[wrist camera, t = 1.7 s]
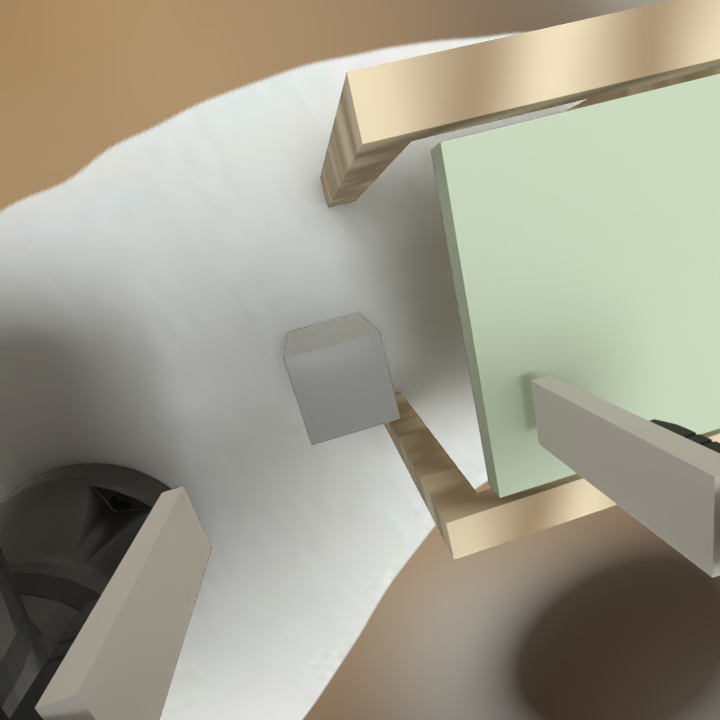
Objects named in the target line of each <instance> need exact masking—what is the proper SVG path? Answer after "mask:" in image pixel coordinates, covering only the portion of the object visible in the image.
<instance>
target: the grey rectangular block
mask: <svg viewBox="0 0 720 720" xmlns="http://www.w3.org/2000/svg"><path fill="white" fill-rule="evenodd" d="M284 361H285V364H286V367H287V370H288V373H289V376H290V379H291V382H292V386H293V389H294V392H295V395H296V398H297V401H298V404H299V407H300V410H301V414H302V417H303V420H304V423H305V426H306V429H307V432H308V435H309V438H310V442H311V445H314V444H317V443H321V442H324V441H327V440H331V439H334V438H337V437H341V436H344V435H347V434H351V433H354V432H357V431H360V430H364V429H367V428H370V427H374V426H377V425H380V424H384V423H387V422H390V421H394V420H397V419H400V415H399V411H398V407H397V403H396V398H395V394H394V390H393V386H392V382H391V378H390V373H389V369H388V365H387V361H386V357H385V352H384V348H383V344H382V340H381V336H380V332H379V331H378V330H377V329H376V328H375V327H374V326H373V325H372V324H370V323H369V322H368V321H367V320H366V319H365V318H364V317H363V316H362V315H360V314H359V313H355V314H351V315H348V316H344V317H341V318H337V319H333V320H330V321H326V322H322V323H319V324H315V325H312V326H308V327H304V328H301V329H297V330H293V331H290V332H288V335H287V341H286V348H285V354H284Z"/></svg>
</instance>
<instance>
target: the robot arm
mask: <svg viewBox="0 0 720 720" xmlns="http://www.w3.org/2000/svg"><path fill="white" fill-rule="evenodd" d="M531 386H532V394H533V402H534V410H535V418H536V425H537V433H538V441H539V444H540V445H541V446H542V447H543V448H545V449H546V450H547V451H549V452H550V453H551V454H552V455H554V456H555V457H556V458H558V459H559V460H560V461H562V462H563V463H564V464H565V465H567V466H568V467H569V468H571V469H572V470H573V471H575V472H576V473H577V474H578V475H580V476H581V477H582V478H584V479H585V480H586V481H588V482H589V483H590V484H591V485H593V486H594V487H595V488H597V489H598V490H599V491H601V492H602V493H603V494H604V495H606V496H607V497H608V498H610V499H611V500H612V501H613V502H615V503H616V504H617V505H619V506H620V507H621V508H623V509H624V510H625V511H626V512H628V513H629V514H630V515H632V516H633V517H634V518H636V519H637V520H638V521H639V522H641V523H642V524H643V525H645V526H646V527H647V528H649V529H650V530H651V531H652V532H654V533H655V534H657V535H658V536H659V537H660V538H662V539H663V540H664V541H665V542H667V543H668V544H669V545H671V546H672V547H673V548H674V549H676V550H677V551H678V552H680V553H681V554H682V555H684V556H685V557H686V558H687V559H689V560H690V561H691V562H693V563H694V564H695V565H697V566H698V567H699V568H700V569H702V570H703V571H704V572H706V573H707V574H708V575H710V576H711V577H712V578H713V577H716V576H718V575H720V443H719V442H716V441H715V442H713V441H712V439H709V438H707V437H705V436H703V435H700V434H698V435H697V434H696V432H693V431H691V430H689V429H687V428H684V427H682V426H680V425H677V424H674V423H669V422H665V421H660V420H656V419H653V420H650V421H648V420H646V419H644V418H642V417H639V416H637V415H635V414H633V413H631V412H629V411H626V410H624V409H622V408H620V407H618V406H616V405H613V404H611V403H609V402H607V401H605V400H603V399H600V398H598V397H596V396H594V395H592V394H590V393H587V392H585V391H583V390H581V389H579V388H577V387H574V386H572V385H570V384H568V383H566V382H564V381H561V380H559V379H557V378H555V377H553V376H551V375H548V376H544V377H541V378H538V379H535V380H531ZM211 549H212V547H211V545H210V543H209V541H208V538H207V536H206V534H205V532H204V529H203V527H202V525H201V523H200V521H199V518H198V516H197V514H196V512H195V509H194V507H193V505H192V503H191V501H190V498H189V496H188V494H187V492H186V489H185V487H184V486H182V487H179V488H175V489H172V490H170V489H168V488H167V487H166V486H164V485H163V484H161V483H160V482H158V481H156V480H155V479H153V478H151V477H149V476H147V475H145V474H142V473H139V472H137V471H134V470H131V469H127V468H123V467H118V466H113V465H105V464H80V465H71V466H66V467H62V468H58V469H54V470H51V471H48V472H46V473H43V474H41V475H39V476H37V477H34V478H33V479H31V480H29V481H28V482H26V483H25V484H23V485H22V486H20V487H19V488H18V489H17V490H15V491H14V492H13V493H12V494H10V495H9V496H8V497H7V498H6V499H4V500H3V501H2V502H1V503H0V720H160V717H161V714H162V710H163V707H164V704H165V701H166V697H167V694H168V691H169V687H170V684H171V681H172V678H173V674H174V671H175V668H176V664H177V661H178V658H179V654H180V651H181V648H182V645H183V641H184V638H185V635H186V631H187V628H188V625H189V622H190V618H191V615H192V612H193V608H194V605H195V602H196V599H197V595H198V592H199V589H200V585H201V582H202V579H203V576H204V572H205V569H206V566H207V562H208V559H209V556H210V553H211Z"/></svg>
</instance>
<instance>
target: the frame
mask: <svg viewBox="0 0 720 720" xmlns="http://www.w3.org/2000/svg"><path fill="white" fill-rule="evenodd" d="M716 74H720V0H671V1H666V2H662V3H657V4H652V5H648V6H644V7H639V8H635V9H630V10H626V11H621V12H616V13H612V14H607V15H603V16H599V17H594V18H589V19H585V20H581V21H576V22H571V23H567V24H562V25H558V26H553V27H549V28H545V29H540V30H535V31H531V32H526V33H522V34H517V35H513V36H508V37H504V38H499V39H495V40H490V41H486V42H481V43H477V44H472V45H468V46H463V47H459V48H454V49H450V50H445V51H441V52H436V53H432V54H427V55H423V56H418V57H414V58H409V59H405V60H400V61H396V62H392V63H387V64H383V65H378V66H374V67H369V68H365V69H360V70H356V71H351V72H347V73H346V77H345V81H344V85H343V89H342V93H341V97H340V101H339V105H338V109H337V113H336V117H335V121H334V125H333V129H332V133H331V137H330V141H329V145H328V149H327V153H326V156H325V160H324V164H323V168H322V172H321V176H320V177H321V181H322V185H323V189H324V193H325V197H326V201H327V205H328V207H331V206H335V205H339V204H343V203H347V202H351V201H355V200H356V199H357V198H358V197H359V196H360V195H361V194H362V193H363V192H364V191H365V190H366V189H367V188H368V186H369V185H370V184H371V183H372V182H373V181H374V180H375V179H376V178H377V177H378V176H379V175H380V174H381V173H382V172H383V171H384V170H385V168H386V167H387V166H388V165H389V164H390V163H391V162H392V161H393V160H394V159H395V158H396V157H397V156H398V155H399V154H400V153H401V152H402V150H403V149H404V148H405V147H406V146H407V145H408V144H409V143H410V142H411V141H414V140H418V139H422V138H426V137H430V136H434V135H439V134H443V133H447V132H451V131H455V130H459V129H464V128H468V127H472V126H476V125H480V124H484V123H488V122H493V121H497V120H501V119H505V118H509V117H513V116H518V115H522V114H526V113H530V112H534V111H538V110H542V109H547V108H551V107H555V106H559V105H563V104H567V103H571V102H576V101H580V100H584V99H587V100H585V101H583V102H582V103H580V104H578V105H576V106H574V107H573V108H571V109H569V110H567V111H570V110H574V109H578V108H582V107H586V106H590V105H594V104H598V103H602V102H606V101H610V100H614V99H619V98H623V97H627V96H631V95H635V94H639V93H643V92H647V91H651V90H655V89H659V88H663V87H667V86H671V85H676V84H680V83H684V82H688V81H692V80H696V79H700V78H704V77H708V76H712V75H716ZM588 98H589V99H588ZM565 112H566V111H565ZM395 398H396V403H397V407H398V411H399V415H400V419H397V420H394V421H390V422H387V423H384V425H385V427H386V428H387V430H388V432H389V434H390V436H391V438H392V440H393V442H394V444H395V446H396V448H397V450H398V452H399V454H400V456H401V458H402V459H403V461H404V463H405V465H406V467H407V469H408V471H409V473H410V475H411V477H412V479H413V481H414V483H415V485H416V487H417V489H418V490H419V492H420V494H421V496H422V498H423V500H424V502H425V504H426V506H427V508H428V510H429V512H430V514H431V516H432V518H433V520H434V522H435V523H436V525H437V527H438V529H439V531H440V533H441V535H442V537H443V539H444V541H445V543H446V545H447V547H448V549H449V550H450V553H451V554H452V556H453V558H454V559H457V558H460V557H463V556H466V555H469V554H472V553H475V552H478V551H481V550H484V549H487V548H490V547H493V546H496V545H499V544H501V543H504V542H508V541H510V540H514V539H517V538H520V537H522V536H525V535H528V534H531V533H534V532H537V531H540V530H543V529H546V528H549V527H552V526H555V525H558V524H561V523H564V522H567V521H570V520H573V519H576V518H579V517H582V516H585V515H588V514H591V513H594V512H597V511H600V510H602V509H605V508H608V507H611V506H614V505H617V504H616V503H615V502H613V501H612V500H611V499H610V498H608V497H607V496H606V495H604V494H603V493H602V492H601V491H599V490H598V489H597V488H595V487H594V486H593V485H591V484H590V483H589V482H588V481H586V480H585V479H584V478H582V477H581V476H580V475H578V474H574V475H571V476H568V477H565V478H561V479H558V480H555V481H552V482H549V483H546V484H543V485H539V486H536V487H533V488H530V489H527V490H524V491H520V492H517V493H514V494H511V495H508V496H505V497H502V498H499V496H498V495H497V494H496V493H495V491H494V490H493V489H492V488H491V489H488V490H485V491H482V492H479V493H477V492H476V491H475V490H474V488H473V487H472V486H471V484H470V483H469V482H468V480H467V479H466V478H465V476H464V475H463V474H462V473H461V471H460V470H459V469H458V467H457V466H456V465H455V463H454V462H453V461H452V459H451V458H450V457H449V455H448V454H447V453H446V452H445V450H444V449H443V448H442V446H441V445H440V444H439V442H438V441H437V440H436V438H435V437H434V436H433V434H432V433H431V432H430V431H429V429H428V428H427V427H426V425H425V424H424V423H423V421H422V420H421V419H420V417H419V416H418V415H417V413H416V412H415V411H414V410H413V408H412V407H411V406H410V404H409V403H408V402H407V400H406V399H405V398H404V396H403V395H402V394H401V392H400V393H397V394H395ZM700 435H703V436H705V437H707V438H709V439H712V441H713V442H715V441H716V442H719V443H720V428H719V429H716V430H713V431H710V432H707V433H703V434H700Z"/></svg>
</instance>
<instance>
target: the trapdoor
mask: <svg viewBox="0 0 720 720" xmlns="http://www.w3.org/2000/svg"><path fill="white" fill-rule="evenodd" d="M431 155H432V161H433V167H434V172H435V178H436V184H437V190H438V195H439V201H440V207H441V212H442V218H443V224H444V230H445V235H446V241H447V247H448V253H449V258H450V264H451V270H452V275H453V281H454V287H455V293H456V298H457V304H458V310H459V316H460V321H461V327H462V333H463V339H464V344H465V350H466V356H467V361H468V367H469V373H470V379H471V384H472V390H473V396H474V402H475V407H476V413H477V419H478V424H479V430H480V436H481V442H482V447H483V453H484V459H485V465H486V470H487V476H488V482H489V485H490V487H491V488H492V489H493V490H494V491H495V493H496V494H497V495H498V496H499V498H502V497H505V496H508V495H511V494H514V493H517V492H520V491H524V490H527V489H530V488H533V487H536V486H539V485H543V484H546V483H549V482H552V481H555V480H558V479H561V478H565V477H568V476H571V475H574V474H577V473H576V472H575V471H573V470H572V469H571V468H569V467H568V466H567V465H565V464H564V463H563V462H562V461H560V460H559V459H558V458H556V457H555V456H554V455H552V454H551V453H550V452H549V451H547V450H546V449H545V448H543V447H542V446H541V445H540V444H539V441H538V433H537V425H536V418H535V410H534V402H533V394H532V386H531V380H535V379H538V378H541V377H544V376H548V375H551V376H553V377H555V378H557V379H559V380H561V381H564V382H566V383H568V384H570V385H572V386H574V387H577V388H579V389H581V390H583V391H585V392H587V393H590V394H592V395H594V396H596V397H598V398H600V399H603V400H605V401H607V402H609V403H611V404H613V405H616V406H618V407H620V408H622V409H624V410H626V411H629V412H631V413H633V414H635V415H637V416H639V417H642V418H644V419H646V420H648V421H650V420H653V419H656V420H660V421H665V422H669V423H674V424H677V425H680V426H682V427H684V428H687V429H689V430H691V431H693V432H696V434H697V435H698V434H703V433H707V432H710V431H713V430H716V429H719V428H720V74H716V75H712V76H708V77H704V78H700V79H696V80H692V81H688V82H684V83H680V84H676V85H671V86H667V87H663V88H659V89H655V90H651V91H647V92H643V93H639V94H635V95H631V96H627V97H623V98H619V99H614V100H610V101H606V102H602V103H598V104H594V105H590V106H586V107H582V108H578V109H574V110H570V111H566V112H561V113H557V114H553V115H549V116H545V117H541V118H537V119H533V120H529V121H525V122H521V123H517V124H513V125H508V126H504V127H500V128H496V129H492V130H488V131H484V132H480V133H476V134H472V135H468V136H464V137H460V138H456V139H451V140H447V141H443V142H440V143H439V144H438V145H437V146H435V147H434V148H433V149H432V150H431Z"/></svg>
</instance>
